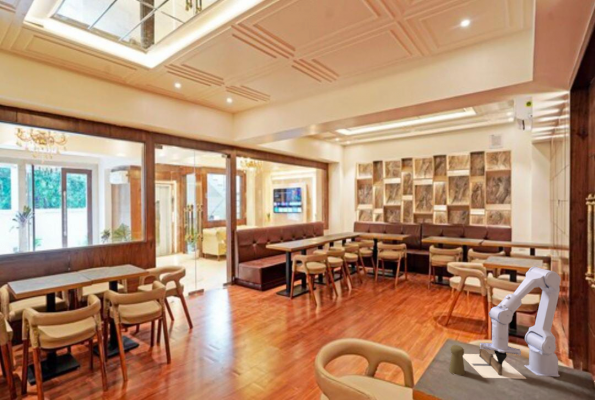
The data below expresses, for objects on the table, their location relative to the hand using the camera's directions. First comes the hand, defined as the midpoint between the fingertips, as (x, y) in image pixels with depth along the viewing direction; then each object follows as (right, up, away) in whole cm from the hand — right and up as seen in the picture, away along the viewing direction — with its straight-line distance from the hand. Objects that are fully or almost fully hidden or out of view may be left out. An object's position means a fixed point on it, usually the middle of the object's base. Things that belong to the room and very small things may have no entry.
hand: (499, 368), depth 132 cm
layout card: (-1, -2, +5) cm, 5 cm away
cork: (-18, -2, 0) cm, 18 cm away
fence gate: (-1, -1, 0) cm, 2 cm away
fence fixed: (0, -1, +9) cm, 9 cm away
